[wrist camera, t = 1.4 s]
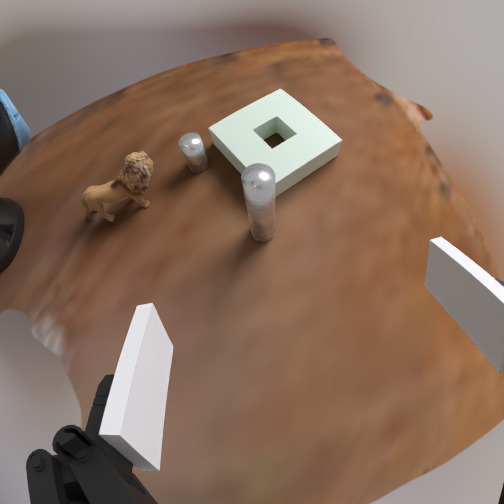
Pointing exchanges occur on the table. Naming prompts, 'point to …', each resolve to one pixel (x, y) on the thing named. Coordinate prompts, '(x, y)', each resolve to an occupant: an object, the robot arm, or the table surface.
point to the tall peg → (260, 200)
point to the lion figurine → (121, 186)
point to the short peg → (194, 152)
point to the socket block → (288, 127)
